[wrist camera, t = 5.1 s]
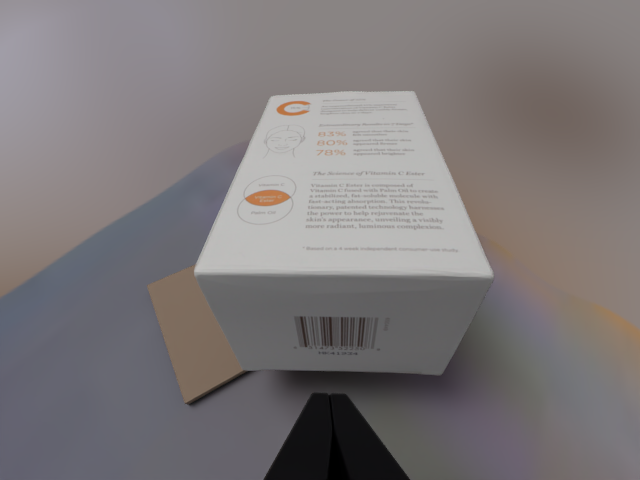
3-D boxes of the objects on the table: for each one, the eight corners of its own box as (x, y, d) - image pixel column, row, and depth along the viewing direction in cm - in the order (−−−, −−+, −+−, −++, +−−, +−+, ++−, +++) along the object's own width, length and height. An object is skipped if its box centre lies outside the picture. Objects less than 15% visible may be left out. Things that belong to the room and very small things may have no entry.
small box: (444, 381, 12) (401, 185, 21) (503, 277, 8) (417, 87, 17) (238, 373, 13) (283, 186, 22) (182, 273, 8) (269, 91, 18)
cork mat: (401, 283, 18) (404, 280, 18) (188, 404, 14) (184, 403, 14) (342, 206, 21) (343, 201, 21) (150, 289, 17) (146, 285, 17)
